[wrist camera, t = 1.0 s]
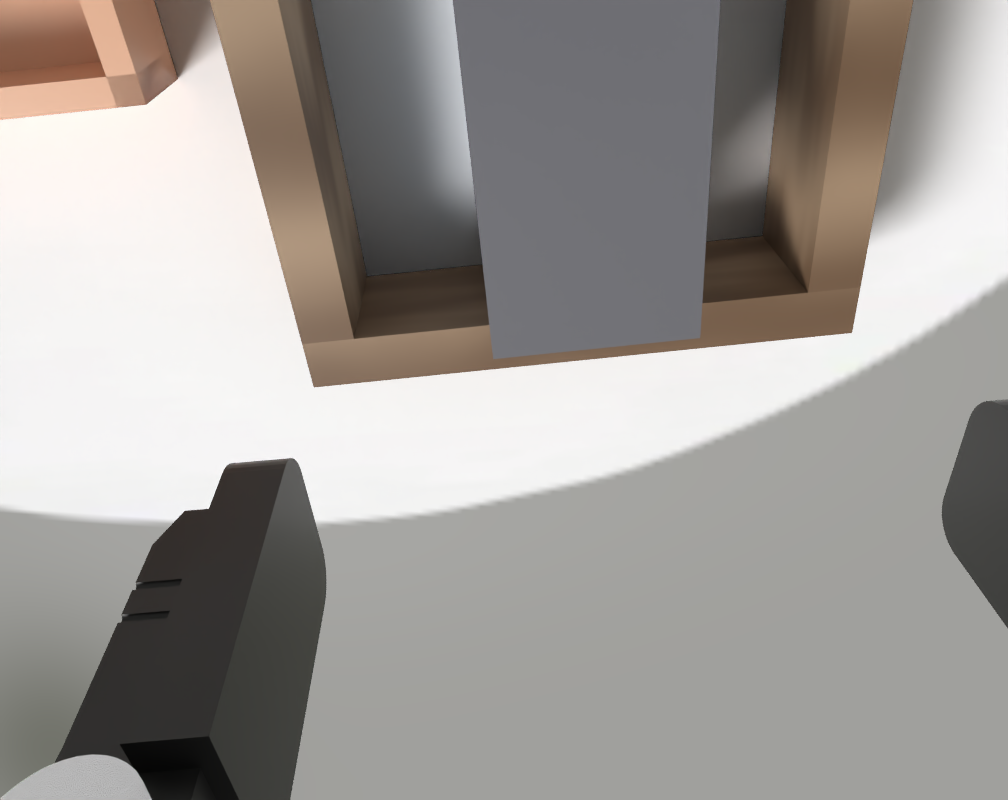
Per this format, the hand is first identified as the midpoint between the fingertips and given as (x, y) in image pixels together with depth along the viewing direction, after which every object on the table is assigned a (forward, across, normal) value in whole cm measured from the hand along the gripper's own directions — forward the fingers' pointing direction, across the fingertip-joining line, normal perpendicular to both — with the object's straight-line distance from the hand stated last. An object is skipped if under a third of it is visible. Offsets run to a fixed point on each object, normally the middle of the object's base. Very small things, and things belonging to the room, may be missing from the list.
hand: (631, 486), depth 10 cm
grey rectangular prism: (+19, -1, 0) cm, 19 cm away
